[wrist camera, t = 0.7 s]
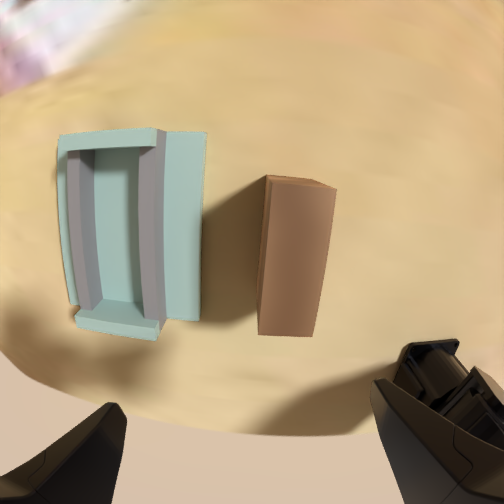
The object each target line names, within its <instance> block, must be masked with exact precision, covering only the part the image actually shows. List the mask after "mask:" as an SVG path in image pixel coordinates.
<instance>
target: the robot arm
mask: <svg viewBox="0 0 504 504" xmlns="http://www.w3.org/2000/svg"><path fill="white" fill-rule="evenodd" d="M458 346H459V341H458V340H457V339H449V340H439V341H428V342H417V343H412V344H410V345H409V347H408V349H407V352H406V354H405V357H404V359H403V362H402V364H401V366H400V369H399V371H398V373H397V375H396V378H395V380H394V382H393V383H392V382H391V381H389V380H388V379H386V378H384V377H382V378H378V379H374V380H373V381H372V386H371V394H370V401H371V405H372V409H373V412H374V416H375V420H376V424H377V428H378V432H379V436H380V439H381V442H382V444H383V447H384V449H385V452H386V455H387V457H388V460H389V462H390V465H391V468H392V470H393V473H394V476H395V478H396V481H397V484H398V487H399V489H400V492H401V495H402V498H403V500H404V503H405V504H504V391H503V389H502V388H501V387H500V386H499V385H498V384H497V383H496V382H495V380H494V379H493V378H492V377H491V376H489V375H488V374H486V373H485V372H483V371H482V370H480V369H479V368H477V367H476V366H474V367H473V368H472V369H471V370H470V371H471V372H470V373H469V372H468V371H467V369H466V368H465V367H464V366H463V365H462V363H461V362H460V361H459V360H458V359H457V357H456V356H455V352H456V350H457V348H458ZM126 426H127V418H126V416H125V414H124V413H123V411H122V409H121V408H120V406H119V405H118V404H117V403H113V402H107V403H105V404H104V405H103V406H102V407H100V408H99V409H98V410H96V411H95V412H94V413H93V414H91V415H90V416H89V417H87V418H86V419H85V420H83V421H82V422H81V423H80V424H78V425H77V426H75V427H74V428H73V429H72V430H70V431H69V432H68V433H66V434H65V435H64V436H62V437H61V438H60V439H58V440H57V441H56V442H54V443H53V444H51V445H50V446H49V447H47V448H46V449H45V450H43V451H42V452H41V453H39V454H38V455H36V456H35V457H33V458H32V459H30V460H29V461H27V462H26V463H24V464H22V465H21V466H19V467H17V468H15V469H14V470H12V471H10V472H8V473H7V474H5V475H3V476H0V504H111V503H112V498H113V494H114V489H115V484H116V480H117V476H118V471H119V467H120V463H121V459H122V454H123V448H124V440H125V433H126Z"/></svg>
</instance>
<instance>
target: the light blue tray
mask: <svg viewBox="0 0 504 504" xmlns="http://www.w3.org/2000/svg"><path fill="white" fill-rule="evenodd" d="M206 137H207V133H206V132H166V131H162V130H159V129H155V128H132V129H116V130H103V131H92V132H83V133H74V134H66V135H60V139H58V158H57V186H58V210H59V225H60V236H61V245H62V254H63V261H64V268H65V275H66V281H67V287H68V292H69V298H70V303H71V304H73V305H79V306H80V308H81V309H80V310H79V311H78V312H77V313H76V314H75V315H74V316H75V321H76V325H77V328H82V329H86V330H92V331H97V332H102V333H107V334H113V335H119V336H125V337H131V338H138V339H144V340H151V341H156V340H157V338H158V336H159V334H160V332H161V329H162V327H163V325H164V323H165V321H166V319H167V318H170V319H179V320H189V321H199V319H200V315H201V239H202V209H203V187H204V168H205V152H206Z"/></svg>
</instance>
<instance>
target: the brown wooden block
mask: <svg viewBox="0 0 504 504" xmlns="http://www.w3.org/2000/svg"><path fill="white" fill-rule="evenodd" d="M336 190H337V189H335V188H332V187H330V186H327V185H325V184H322V183H320V182H317V181H315V180H312V179H305V178H296V177H286V176H275V175H266V182H265V194H264V206H263V218H262V230H261V242H260V253H259V264H258V276H257V287H256V292H257V320H258V335H268V336H293V337H312V336H313V331H314V326H315V321H316V317H317V312H318V306H319V301H320V296H321V290H322V285H323V279H324V274H325V268H326V262H327V255H328V249H329V243H330V236H331V229H332V222H333V214H334V207H335V199H336Z"/></svg>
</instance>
